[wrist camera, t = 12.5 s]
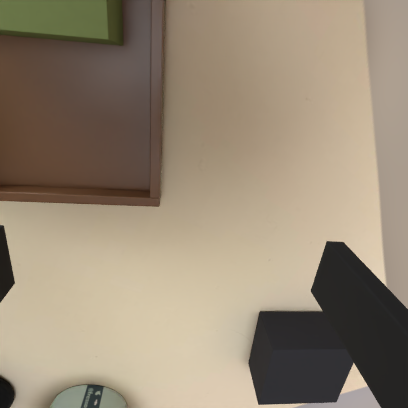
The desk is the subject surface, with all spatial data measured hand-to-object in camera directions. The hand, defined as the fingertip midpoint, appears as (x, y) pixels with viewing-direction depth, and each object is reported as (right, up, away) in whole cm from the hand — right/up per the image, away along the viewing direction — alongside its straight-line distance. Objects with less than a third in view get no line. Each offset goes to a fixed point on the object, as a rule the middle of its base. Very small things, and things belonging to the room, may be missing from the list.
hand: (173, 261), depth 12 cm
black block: (+12, -14, +23) cm, 29 cm away
